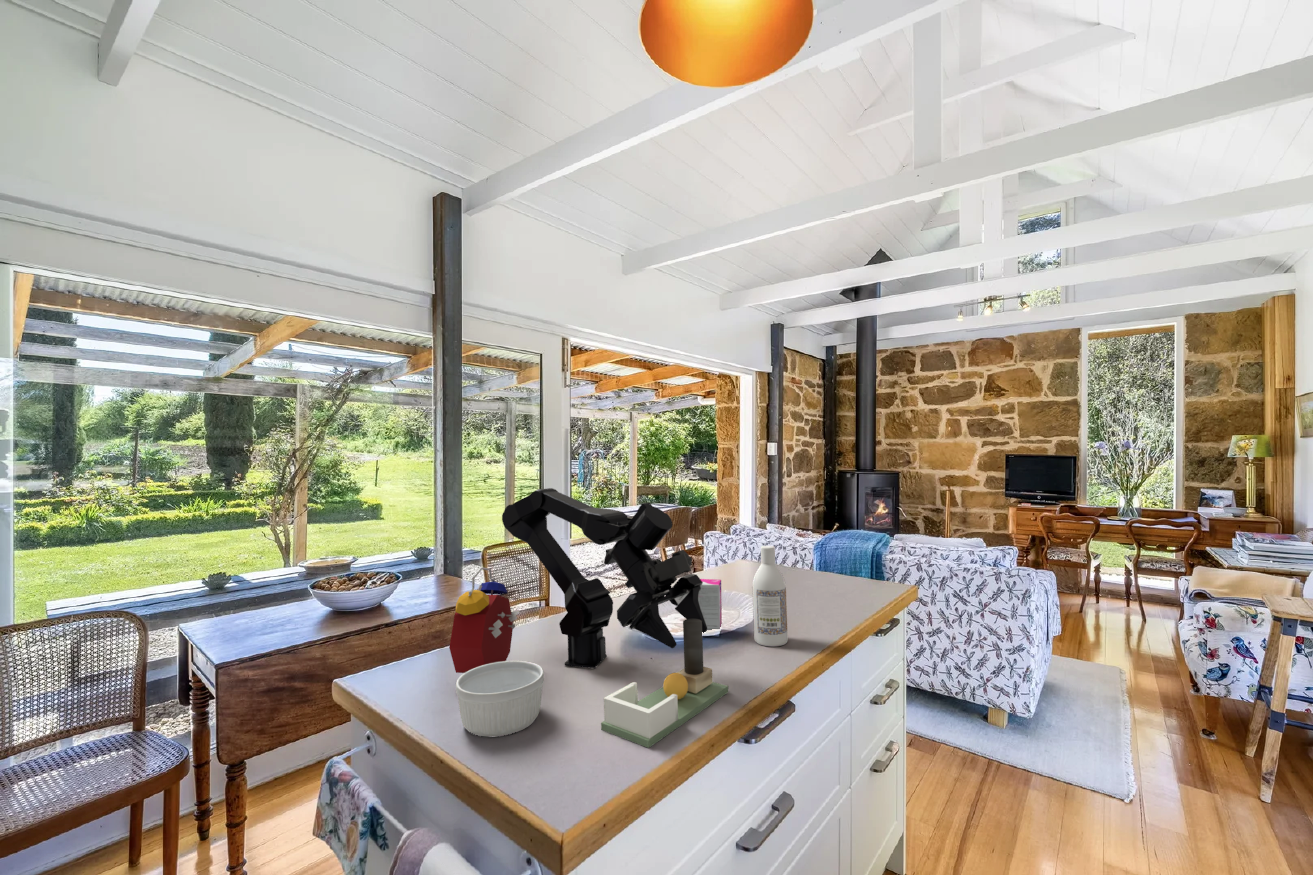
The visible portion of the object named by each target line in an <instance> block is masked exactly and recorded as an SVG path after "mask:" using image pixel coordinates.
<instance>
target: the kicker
mask: <svg viewBox="0 0 1313 875" xmlns="http://www.w3.org/2000/svg"><path fill="white" fill-rule="evenodd" d="M682 630H683V631H682V633H683V634H682V635H683V636H682V637H683V659H684V660H683V662H684V663H683V664H684V665H683V667H684V668H683V669H680V670H679V671H677V672H676V673H680V674H682V675H683V676H684V677H685V678H686V680H687V683H688V690H687V691H689V692H692V693H698V692H699V691H701V690H702V689H704V688H705V687H707V686H709V685H710V684H712V682H713V669H712V668H711V667H707V666H704V649H703V647H704V645H703V637H702V621H701V620H699V619H686V618H685V619H684V620H682Z"/></svg>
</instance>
